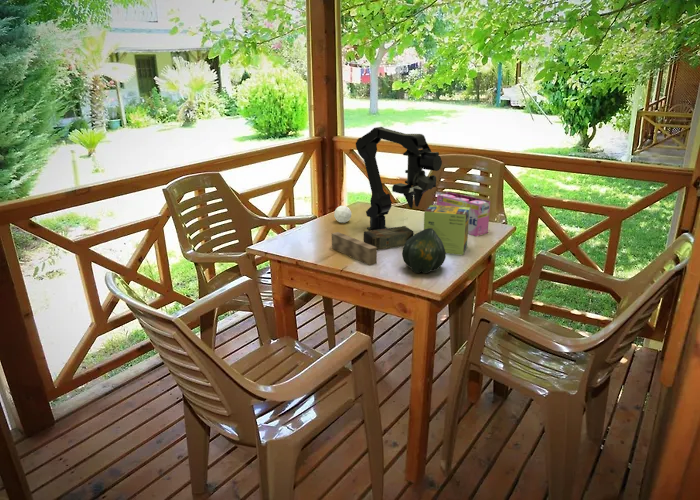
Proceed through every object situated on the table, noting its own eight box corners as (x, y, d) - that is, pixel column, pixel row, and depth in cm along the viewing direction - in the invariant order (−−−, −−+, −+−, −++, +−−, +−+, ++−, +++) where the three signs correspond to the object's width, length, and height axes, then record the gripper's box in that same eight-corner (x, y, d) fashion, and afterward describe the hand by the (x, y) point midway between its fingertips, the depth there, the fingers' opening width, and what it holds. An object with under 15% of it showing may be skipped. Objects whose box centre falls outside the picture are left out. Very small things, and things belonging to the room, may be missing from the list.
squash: (391, 259, 164) (423, 228, 159) (397, 246, 178) (427, 217, 172) (422, 288, 165) (455, 258, 159) (426, 273, 179) (456, 245, 173)
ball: (339, 228, 224) (328, 216, 221) (345, 218, 229) (334, 205, 226) (351, 223, 219) (340, 209, 216) (357, 212, 225) (346, 199, 222)
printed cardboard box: (414, 245, 194) (414, 229, 192) (371, 252, 187) (371, 236, 185) (404, 239, 201) (404, 223, 199) (362, 246, 194) (362, 230, 192)
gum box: (432, 223, 220) (434, 193, 215) (444, 220, 224) (446, 190, 220) (476, 236, 202) (478, 204, 197) (488, 232, 207) (491, 201, 202)
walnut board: (331, 248, 192) (331, 233, 189) (338, 246, 193) (337, 231, 191) (370, 265, 174) (370, 249, 172) (376, 263, 176) (376, 247, 174)
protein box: (463, 255, 182) (466, 214, 177) (422, 251, 187) (423, 211, 182) (467, 246, 191) (470, 207, 186) (428, 242, 197) (429, 204, 191)
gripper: (412, 174, 180) (411, 215, 185) (447, 167, 191) (445, 207, 196) (391, 169, 188) (391, 209, 194) (426, 163, 199) (424, 201, 204)
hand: (413, 207), depth 197 cm, fingers open, 3 cm apart
